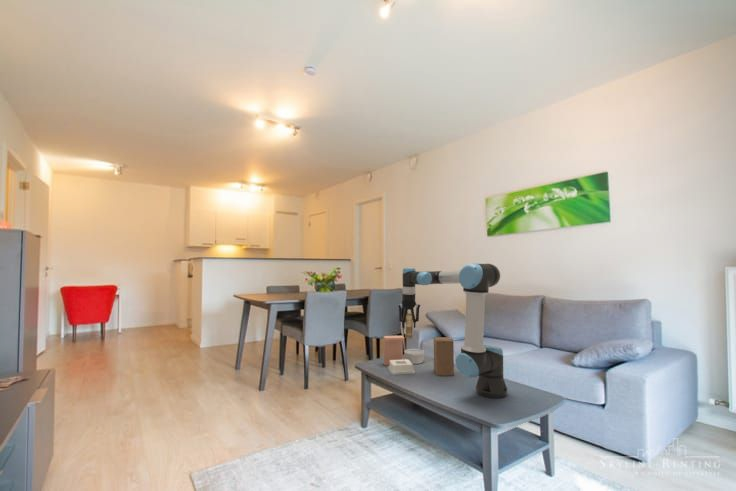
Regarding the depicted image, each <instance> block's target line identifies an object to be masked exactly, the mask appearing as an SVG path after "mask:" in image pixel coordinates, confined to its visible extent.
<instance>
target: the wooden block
mask: <svg viewBox="0 0 736 491" xmlns="http://www.w3.org/2000/svg"><path fill="white" fill-rule="evenodd" d="M454 347H455V346H454V340H453V339H452V338H451V337H450V336H449V337H444V336H443V337H442V336H440V337H439V336H438V337H435V336H434V337H433V371H434V373H435V374H436V376H442V377H443V376H453V377H454V375H455V367H454V366H455V362H454V361H455V359H454V358H455V357H454V352H455V351H454V350H455V349H454Z"/></svg>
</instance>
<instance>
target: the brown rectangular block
mask: <svg viewBox="0 0 736 491" xmlns="http://www.w3.org/2000/svg"><path fill="white" fill-rule="evenodd" d="M403 341H405V337H404V336H403V335H384V336H383V365H384V366H389V360H404V355H403V352H404V350H403V346H404V345H403V343H404V342H403Z"/></svg>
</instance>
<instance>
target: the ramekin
mask: <svg viewBox="0 0 736 491" xmlns="http://www.w3.org/2000/svg"><path fill="white" fill-rule="evenodd" d="M403 352H404V357H405V359H408V360H409V361H410V362H411V363H412V364H413V365H419V364H422V363H424V360H425V359H424V358H425V351H424V350H422V349H419V348H410V349H409V348H408V349H406V350H403Z"/></svg>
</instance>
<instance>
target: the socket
mask: <svg viewBox="0 0 736 491" xmlns="http://www.w3.org/2000/svg"><path fill="white" fill-rule="evenodd" d="M387 370H388V371H389V373H390V374H391V375H394V376H395V375H397V376H398V375H399V376H400V375H415V374H416V371H415V370H414V364H412V363H411V362H410V361H409V360H408V359H404V358H403V360H389V365H387Z"/></svg>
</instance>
